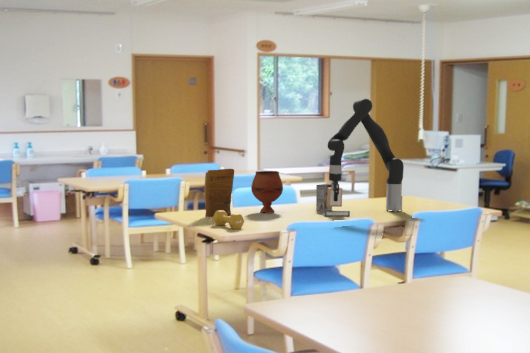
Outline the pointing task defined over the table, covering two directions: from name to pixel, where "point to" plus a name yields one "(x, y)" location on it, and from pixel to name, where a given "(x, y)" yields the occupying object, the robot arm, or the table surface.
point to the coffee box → (322, 197)
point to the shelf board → (336, 213)
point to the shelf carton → (331, 198)
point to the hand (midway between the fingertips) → (334, 200)
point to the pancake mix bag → (218, 191)
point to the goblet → (267, 188)
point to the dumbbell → (228, 219)
